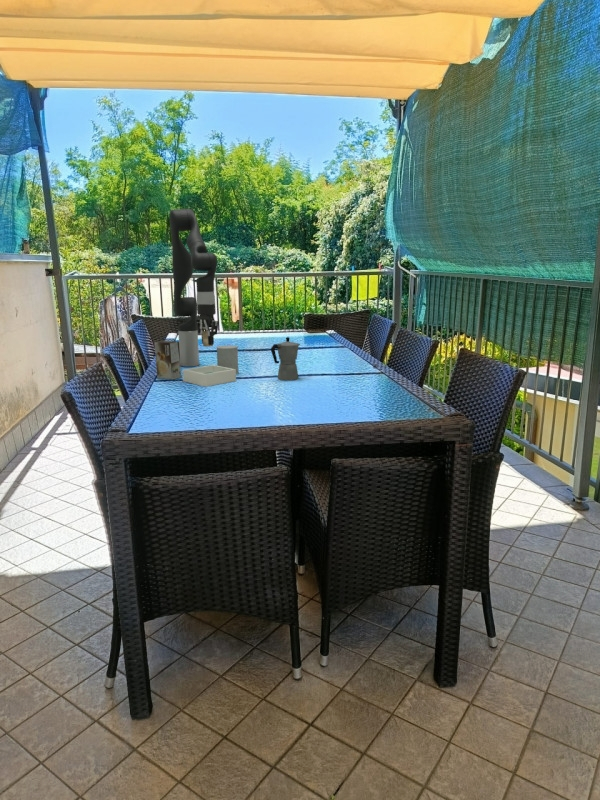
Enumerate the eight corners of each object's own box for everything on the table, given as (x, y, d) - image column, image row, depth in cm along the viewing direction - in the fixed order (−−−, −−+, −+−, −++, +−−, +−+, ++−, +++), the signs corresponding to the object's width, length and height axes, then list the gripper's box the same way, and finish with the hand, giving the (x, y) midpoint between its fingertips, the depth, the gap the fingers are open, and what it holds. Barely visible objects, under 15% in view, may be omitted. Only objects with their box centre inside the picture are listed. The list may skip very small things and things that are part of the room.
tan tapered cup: (201, 346, 231) (200, 331, 230) (209, 345, 234) (208, 330, 233) (206, 346, 228) (206, 332, 227) (214, 345, 231) (214, 331, 230)
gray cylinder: (231, 376, 245) (230, 348, 242) (213, 374, 249) (212, 347, 246) (242, 372, 253) (241, 346, 250) (225, 371, 257) (224, 344, 254)
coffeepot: (293, 375, 247) (292, 335, 243) (306, 378, 240) (306, 337, 236) (265, 379, 237) (264, 337, 233) (278, 382, 230) (277, 340, 226)
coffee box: (182, 377, 243) (180, 341, 239) (172, 379, 238) (170, 342, 234) (166, 375, 247) (163, 339, 243) (156, 378, 242) (153, 341, 238)
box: (183, 381, 235) (182, 369, 234) (213, 375, 246) (213, 364, 245) (205, 386, 224) (204, 374, 223) (236, 380, 235) (235, 369, 233)
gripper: (188, 302, 229) (190, 343, 233) (208, 304, 220) (210, 346, 224) (203, 301, 234) (205, 342, 238) (223, 303, 225) (225, 345, 229)
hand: (207, 344), depth 231 cm, fingers closed on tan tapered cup, 4 cm apart
